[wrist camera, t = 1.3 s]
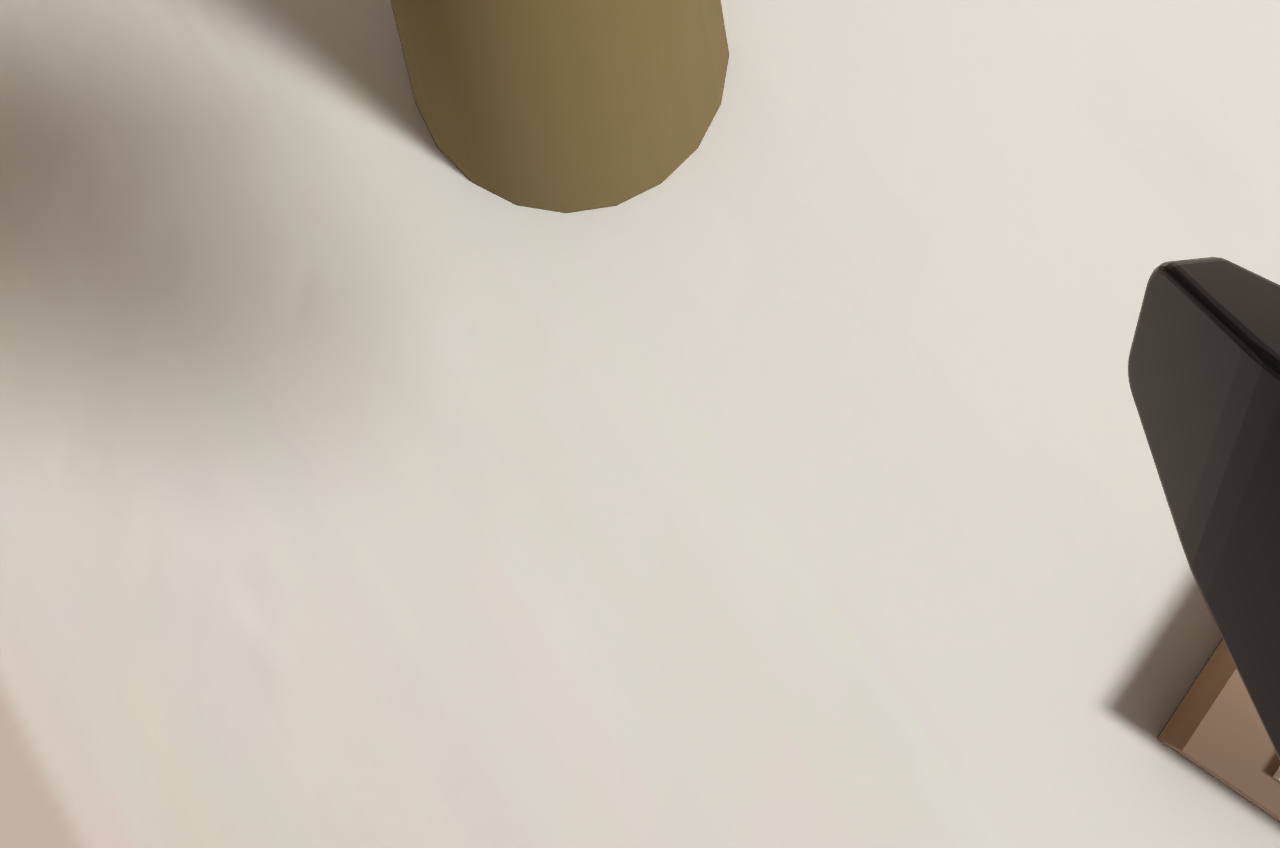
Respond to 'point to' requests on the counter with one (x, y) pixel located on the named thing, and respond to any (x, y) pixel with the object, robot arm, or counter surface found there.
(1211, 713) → the pin board
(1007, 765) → the counter surface
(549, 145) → the cork
